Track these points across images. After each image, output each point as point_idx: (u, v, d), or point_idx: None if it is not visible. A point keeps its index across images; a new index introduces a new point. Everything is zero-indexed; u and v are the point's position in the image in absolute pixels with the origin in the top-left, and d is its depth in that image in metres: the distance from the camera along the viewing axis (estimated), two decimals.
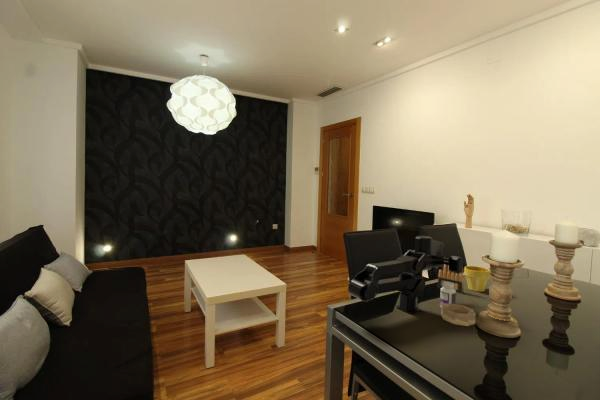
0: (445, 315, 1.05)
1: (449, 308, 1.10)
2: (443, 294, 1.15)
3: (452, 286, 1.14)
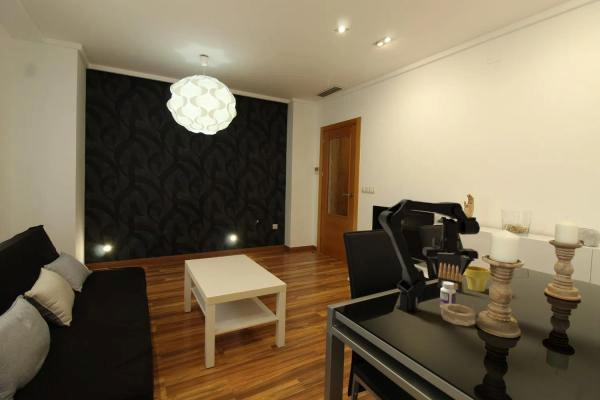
0: (445, 315, 1.05)
1: (449, 308, 1.10)
2: (443, 294, 1.15)
3: (452, 286, 1.14)
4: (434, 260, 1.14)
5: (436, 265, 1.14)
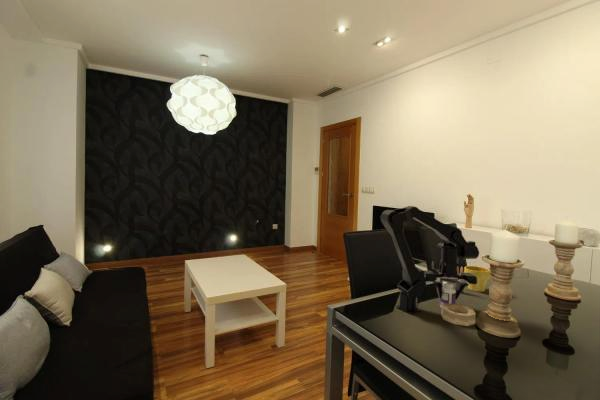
0: (445, 315, 1.05)
1: (449, 308, 1.10)
2: (443, 294, 1.15)
3: (452, 286, 1.14)
4: (438, 285, 1.14)
5: (440, 289, 1.15)
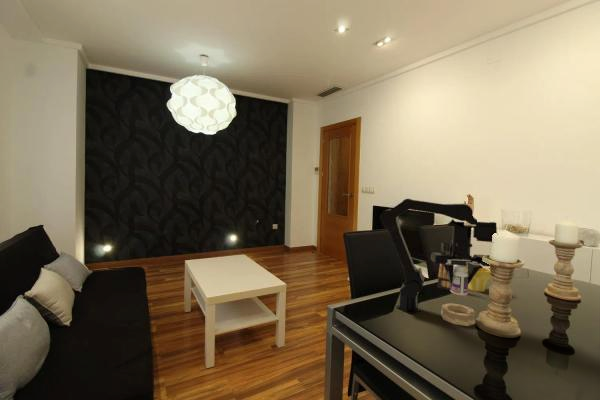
0: (445, 315, 1.05)
1: (449, 308, 1.10)
2: (454, 278, 1.05)
3: (464, 269, 1.04)
4: (449, 267, 1.04)
5: (451, 273, 1.04)
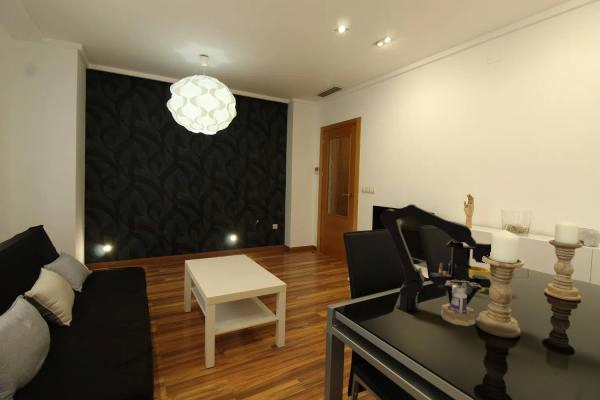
0: (445, 315, 1.05)
1: None
2: (453, 299, 1.05)
3: (463, 290, 1.04)
4: (448, 288, 1.04)
5: (450, 294, 1.05)
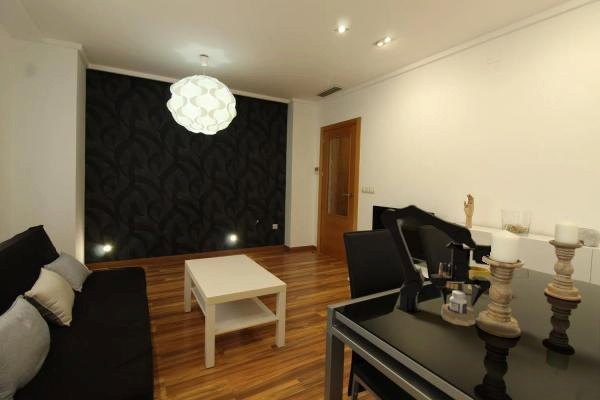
0: (445, 315, 1.05)
1: (449, 308, 1.10)
2: (453, 304, 1.05)
3: (463, 296, 1.04)
4: (443, 290, 1.04)
5: (445, 295, 1.05)
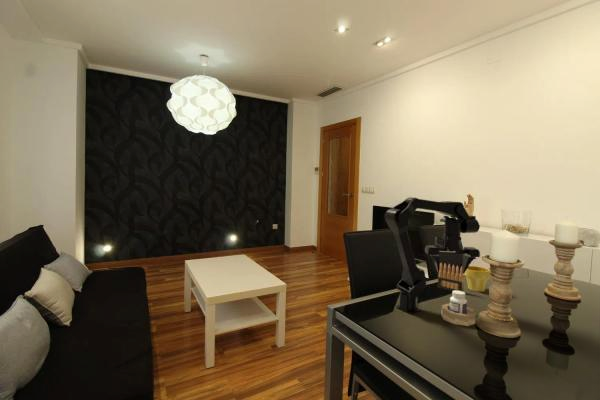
0: (445, 315, 1.05)
1: (449, 308, 1.10)
2: (453, 304, 1.05)
3: (463, 296, 1.04)
4: (436, 258, 1.16)
5: (438, 263, 1.17)
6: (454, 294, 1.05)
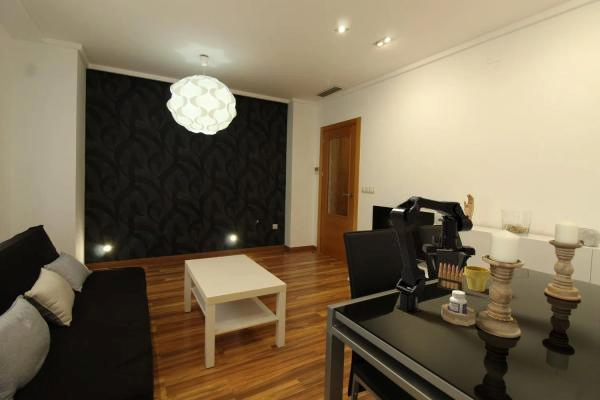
0: (445, 315, 1.05)
1: (449, 308, 1.10)
2: (453, 304, 1.05)
3: (463, 295, 1.04)
4: (433, 256, 1.20)
5: (435, 261, 1.20)
6: (454, 294, 1.05)
